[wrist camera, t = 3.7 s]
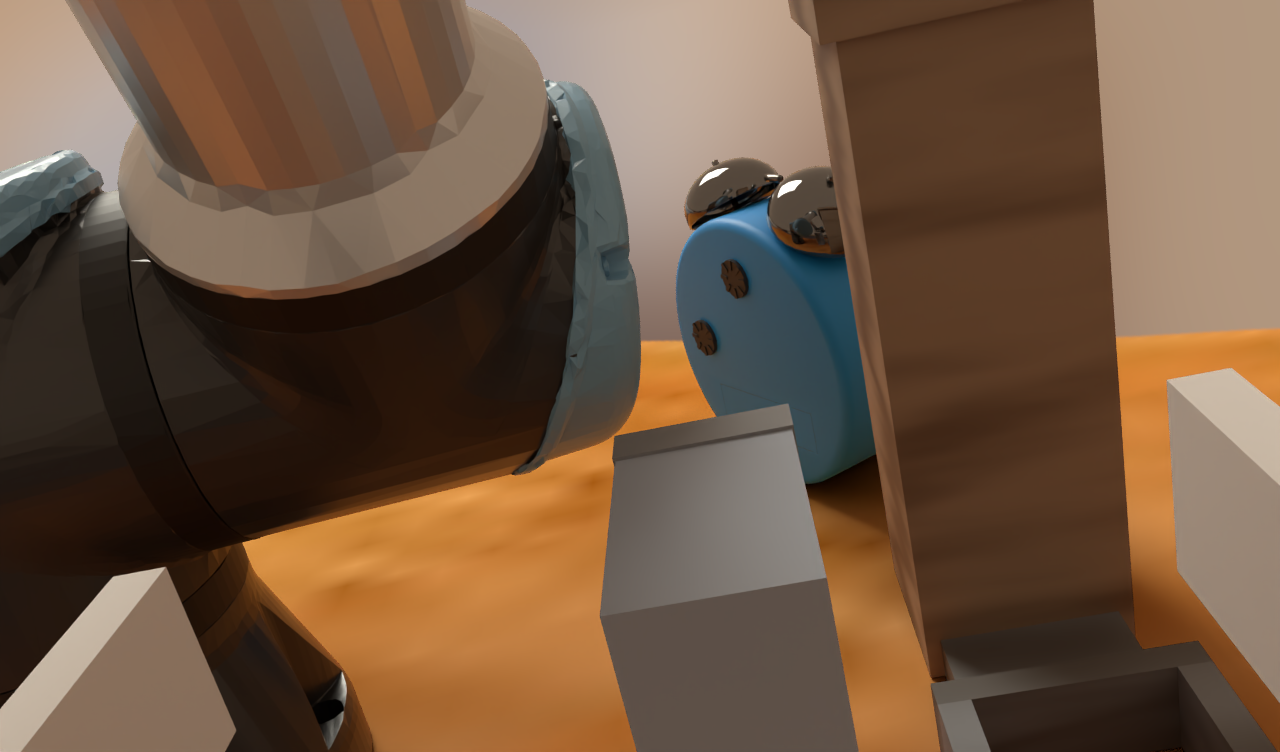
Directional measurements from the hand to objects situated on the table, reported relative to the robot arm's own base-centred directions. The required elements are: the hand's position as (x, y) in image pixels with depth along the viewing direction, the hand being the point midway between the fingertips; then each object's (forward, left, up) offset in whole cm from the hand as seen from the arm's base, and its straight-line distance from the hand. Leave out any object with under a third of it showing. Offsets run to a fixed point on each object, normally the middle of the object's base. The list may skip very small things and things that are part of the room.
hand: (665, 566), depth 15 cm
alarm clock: (-19, +33, -19) cm, 42 cm away
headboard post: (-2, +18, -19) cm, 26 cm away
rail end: (-6, +8, -19) cm, 21 cm away
